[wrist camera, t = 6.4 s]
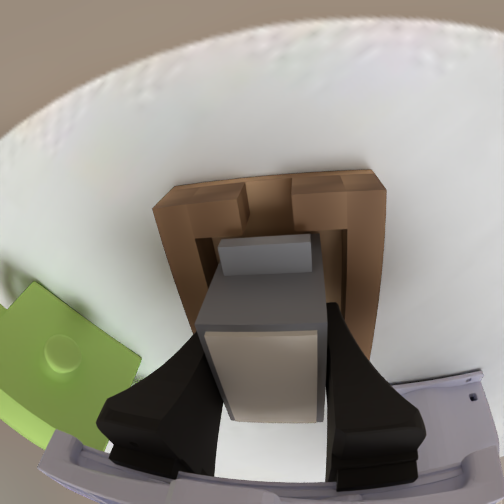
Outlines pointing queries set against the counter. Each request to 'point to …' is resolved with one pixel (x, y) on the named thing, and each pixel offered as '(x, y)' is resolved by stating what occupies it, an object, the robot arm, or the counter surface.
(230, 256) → the block
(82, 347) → the gearbox
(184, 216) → the pocket block
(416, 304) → the counter surface
